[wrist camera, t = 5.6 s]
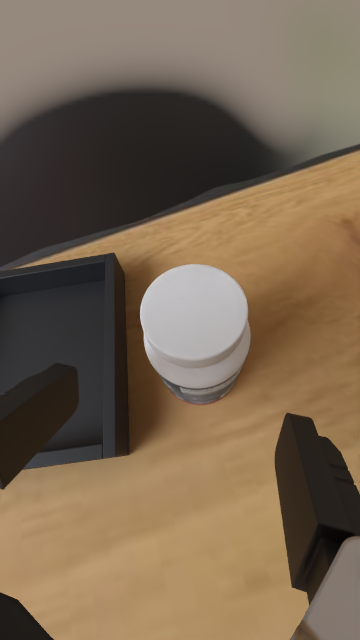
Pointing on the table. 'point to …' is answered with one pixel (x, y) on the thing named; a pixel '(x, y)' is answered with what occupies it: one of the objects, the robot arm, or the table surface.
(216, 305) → the pill bottle
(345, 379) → the table surface
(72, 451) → the tray
